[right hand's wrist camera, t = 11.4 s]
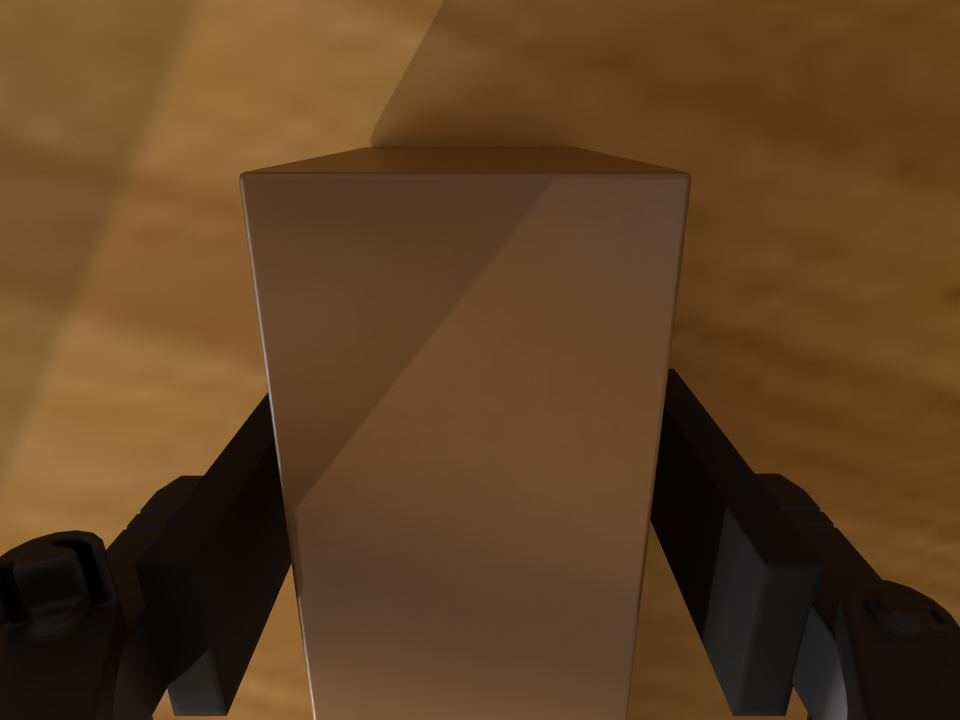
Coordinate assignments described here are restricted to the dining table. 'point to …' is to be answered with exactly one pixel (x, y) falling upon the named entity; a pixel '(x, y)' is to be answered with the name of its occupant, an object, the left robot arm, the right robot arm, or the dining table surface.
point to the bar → (467, 419)
